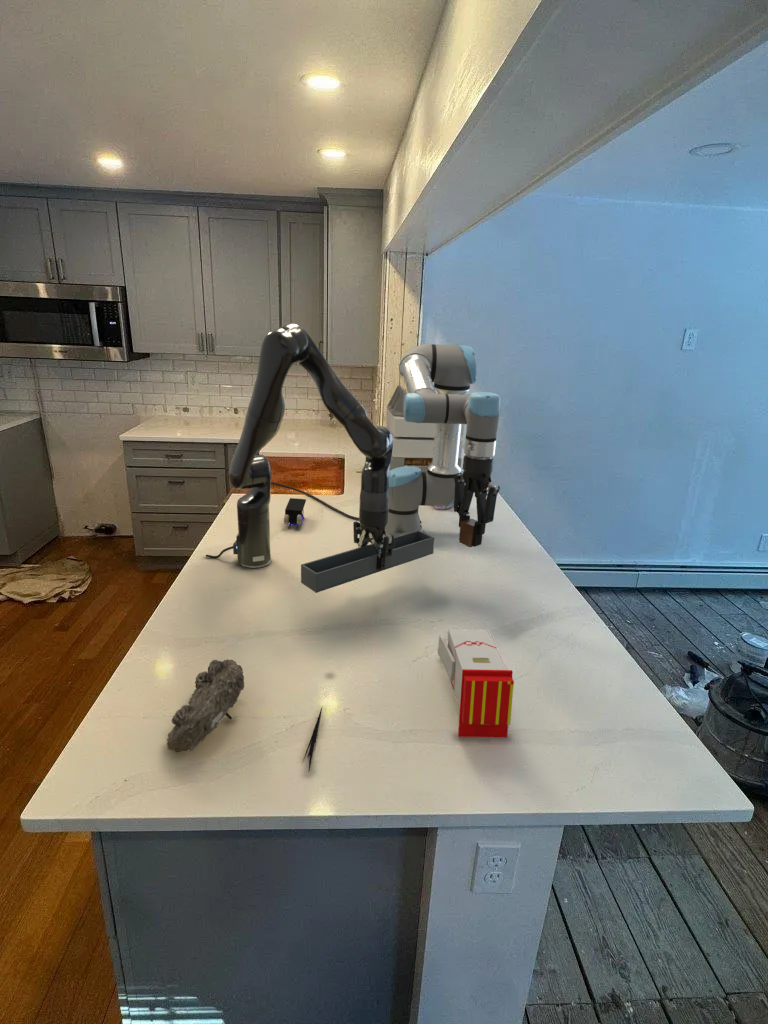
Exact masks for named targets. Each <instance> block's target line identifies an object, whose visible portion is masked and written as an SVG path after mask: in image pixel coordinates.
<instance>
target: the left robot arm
mask: <svg viewBox="0 0 768 1024" xmlns="http://www.w3.org/2000/svg"><path fill="white" fill-rule="evenodd" d="M259 352H260V353H259V360H258V368H257V374H256V379H255V382H254V386H253V390H252V394H251V397H250V400H249V404H248V408H247V411H246V413H245V418H244V419H245V420H244V424H243V428H242V431H241V434H240V437H239V440H238V443H237V445H236V447H235V448H236V449H235V450H234V453H233V456H232V458H231V461H230V464H229V470H228V477H229V482H230V484H231V486H232V487H233V488H235V489H237V490H248V489H249V491H248V492H247V493H245V494H244V495H242V496H241V497H239V498H238V499H237V501H236V512H237V513H236V514H237V515H236V516H237V535H236V536H235V537H236V540H235V541H234V543H233V544H232V546H229V547H226V548H224V549H223V550H221V551H220V552H219V554H217V555H210V554H205V557H206V558H209V559H210V558H211V559H218V558H220V557H221V556H222V555H223V554H224V553H226V552H228V551H230V550H232V552H233V555H236V557H237V566H242V567H243V568H247V569H260V568H264V567H267V566H268V565H270V564H271V562H272V558H271V532H270V531H271V529H270V528H271V527H270V526H271V525H270V503H271V498H272V497H271V496H272V494H271V492H272V484H271V482H272V470H271V469H272V468H271V464H270V461H269V459H268V457H266V456H265V455H264V454H259V453H260V452H261V450H262V449H264V448H265V447H266V446H267V445H268V444H269V443H270V442H271V441H272V440H273V438H275V436H276V435H277V434H278V432H279V430H280V428H281V425H282V422H283V419H284V416H285V413H286V404H285V399H284V395H283V388H284V383H285V380H286V378H287V377H288V376H287V375H288V373H289V371H290V369H291V368H292V367H293V366H296V365H297V364H299V365H300V366H301V367H302V368H303V369H304V370H305V371H306V372H307V373H308V374H309V376H310V377H311V379H312V381H313V382H314V384H315V386H316V389H317V390H318V394H319V396H320V399H321V401H322V403H323V405H324V407H325V408H326V409H327V411H328V412H329V413H330V414H331V416H333V418H334V419H335V420H336V421H337V422H338V423H339V424H340V425H341V427H342V428H343V429H345V431H346V432H347V434H348V436H349V438H350V439H351V440H352V442H353V444H354V445H355V447H356V449H358V451H359V452H360V453H361V454H362V455H363V456H364V457H365V461H364V465H363V467H362V470H361V475H360V477H361V478H360V493H359V506H358V507H359V509H358V518H359V520H357V521H353V525H352V527H353V528H352V529H353V543H354V544H357V548H359V547H363V546H366V545H369V543H370V544H372V545H373V548H374V550H376V553H377V556H378V557H377V570H379V571H380V570H383V569H384V568H385V560H386V557H389V556H392V551H393V542H394V536H393V535H388V534H386V531H385V526H386V525H387V523H388V512H389V471H390V463H391V458H392V451H393V437H392V434H391V432H390V431H389V430H388V429H387V428H386V427H385V426H383V425H374V423H373V422H372V421H371V420H370V418H369V417H368V410H366V408H365V406H364V405H363V404H362V403H361V402H360V401H359V400H358V399H357V397H356V396H354V395H353V394H352V392H351V391H350V390H349V389H348V388H347V387H346V385H345V384H344V383H343V382H342V380H341V379H340V378H339V377H338V376H337V374H336V372H335V371H334V370H333V368H332V366H331V365H330V363H329V362H328V361H327V359H326V358H325V356H324V355H323V353H322V352H321V350H320V349H319V348H318V346H317V344H316V343H315V341H314V340H313V338H312V337H311V335H310V334H309V333H308V332H307V330H306V329H305V328H303V326H301V325H299V324H296V323H292V322H291V323H287V324H283V325H281V326H279V327H277V328H275V329H272V330H270V331H269V332H268V333H266V335H265V336H264V338H263V340H262V342H261V347H260V351H259ZM380 542H381V545H379V546H378V545H377V544H378V543H380ZM380 548H381V549H382V553H381V552H380ZM387 550H388V552H387ZM383 571H384V570H383ZM380 572H381V571H380Z"/></svg>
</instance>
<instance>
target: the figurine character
mask: <svg viewBox="0 0 768 1024" xmlns="http://www.w3.org/2000/svg"><path fill="white" fill-rule="evenodd" d="M306 502H307V499H305V498H294V497H290V498H289V499H288V502H287V504H286V507H285V508H284V518H283V524H284V525H287V528H288V529H291V526H296V528H295V529H299V527H300V525H302V524H303V521H304V520H305V519H306V518H305V515H304V514H305V510H304V508H305V505H306Z"/></svg>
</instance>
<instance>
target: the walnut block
mask: <svg viewBox="0 0 768 1024" xmlns="http://www.w3.org/2000/svg"><path fill="white" fill-rule="evenodd" d="M477 521H478V520H477V519H474V518H471V517H470V519H468V520H464V521H461V529H460V528H459V534H460V539H459V538H458V542H459V544H462V545H464V546H466V547H468V548H474V546H472V545H473V536H474V527H475V526H474V525H475V522H477Z"/></svg>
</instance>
